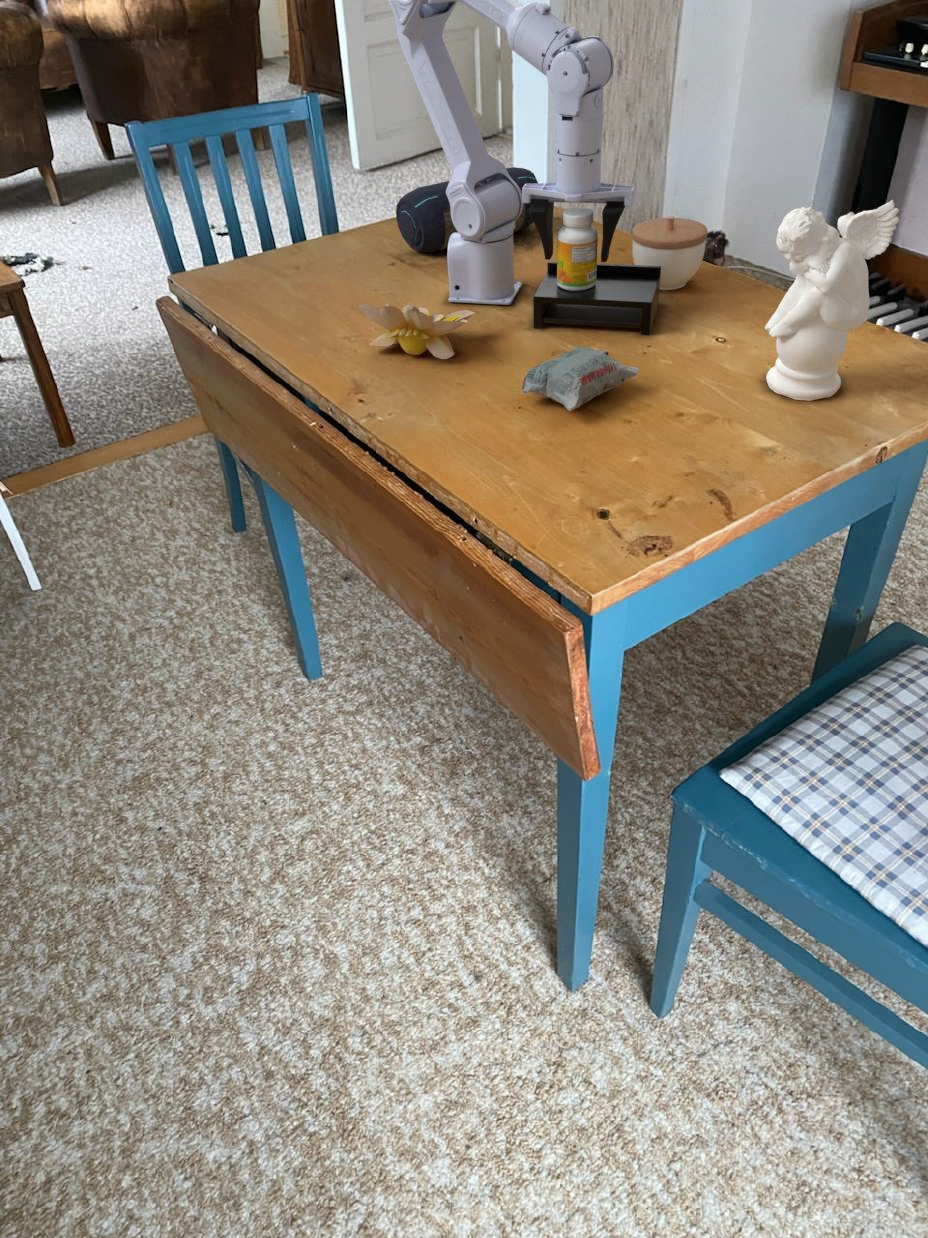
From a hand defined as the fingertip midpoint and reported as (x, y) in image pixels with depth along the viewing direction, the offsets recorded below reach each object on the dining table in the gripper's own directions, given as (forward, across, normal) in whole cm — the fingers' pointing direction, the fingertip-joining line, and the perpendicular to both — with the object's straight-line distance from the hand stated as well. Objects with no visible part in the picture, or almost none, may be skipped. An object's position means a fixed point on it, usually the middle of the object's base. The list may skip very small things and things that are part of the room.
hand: (576, 258), depth 129 cm
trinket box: (+8, +11, +14) cm, 20 cm away
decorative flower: (+8, -18, -14) cm, 24 cm away
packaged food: (+8, +5, -24) cm, 26 cm away
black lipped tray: (+8, +3, 0) cm, 9 cm away
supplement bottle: (+4, 0, 0) cm, 4 cm away
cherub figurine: (+8, +32, -15) cm, 36 cm away
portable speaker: (+8, -23, +29) cm, 38 cm away
